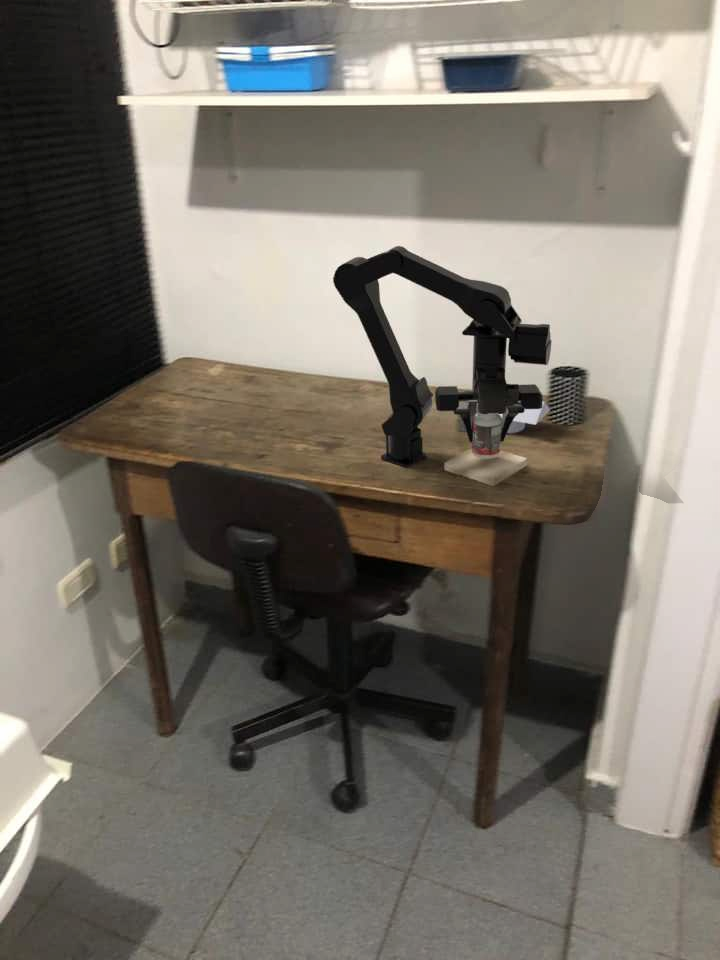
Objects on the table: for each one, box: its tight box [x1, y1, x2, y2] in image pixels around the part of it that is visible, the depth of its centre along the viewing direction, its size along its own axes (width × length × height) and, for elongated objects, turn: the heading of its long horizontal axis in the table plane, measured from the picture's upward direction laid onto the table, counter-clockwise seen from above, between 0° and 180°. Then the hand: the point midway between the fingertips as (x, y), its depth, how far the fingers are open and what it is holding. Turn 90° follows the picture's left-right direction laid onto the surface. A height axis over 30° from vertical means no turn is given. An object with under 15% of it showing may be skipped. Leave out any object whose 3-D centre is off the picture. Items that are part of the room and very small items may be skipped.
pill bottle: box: [470, 403, 502, 459], centre depth 147 cm, size 5×5×10 cm
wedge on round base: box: [497, 401, 551, 435], centre depth 167 cm, size 9×7×13 cm
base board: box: [443, 447, 528, 487], centre depth 150 cm, size 11×11×2 cm
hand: (486, 441), depth 148 cm, fingers closed on pill bottle, 5 cm apart
